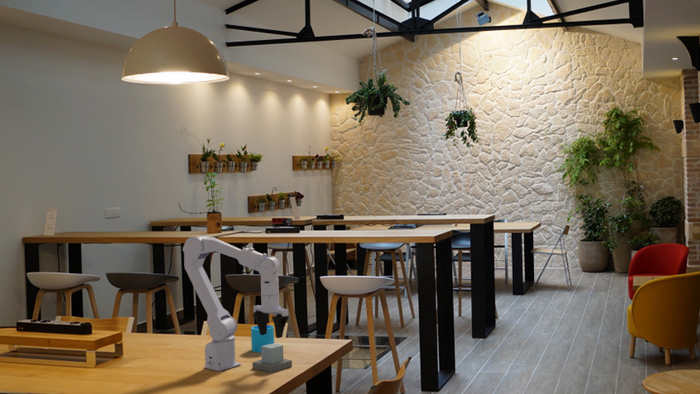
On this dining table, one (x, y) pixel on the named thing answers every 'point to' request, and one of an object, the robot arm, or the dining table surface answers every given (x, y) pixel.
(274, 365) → the slate base
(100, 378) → the dining table surface
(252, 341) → the mug
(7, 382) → the dining table surface
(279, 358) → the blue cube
